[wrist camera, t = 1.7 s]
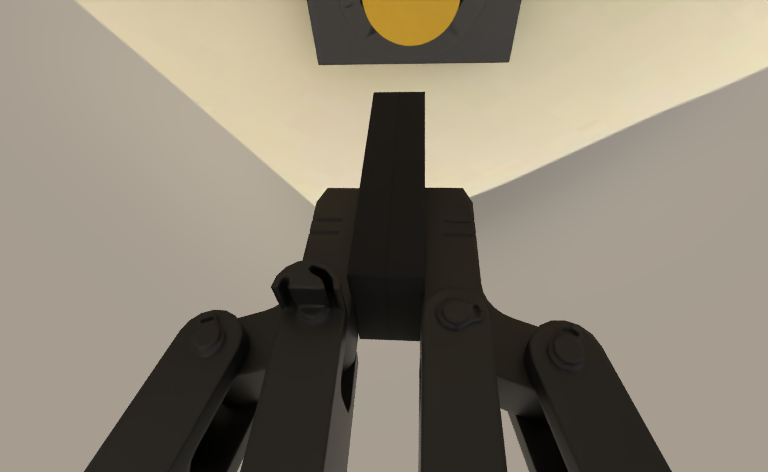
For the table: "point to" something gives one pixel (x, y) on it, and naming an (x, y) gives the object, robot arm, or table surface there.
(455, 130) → the table surface
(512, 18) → the button housing
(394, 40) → the button
